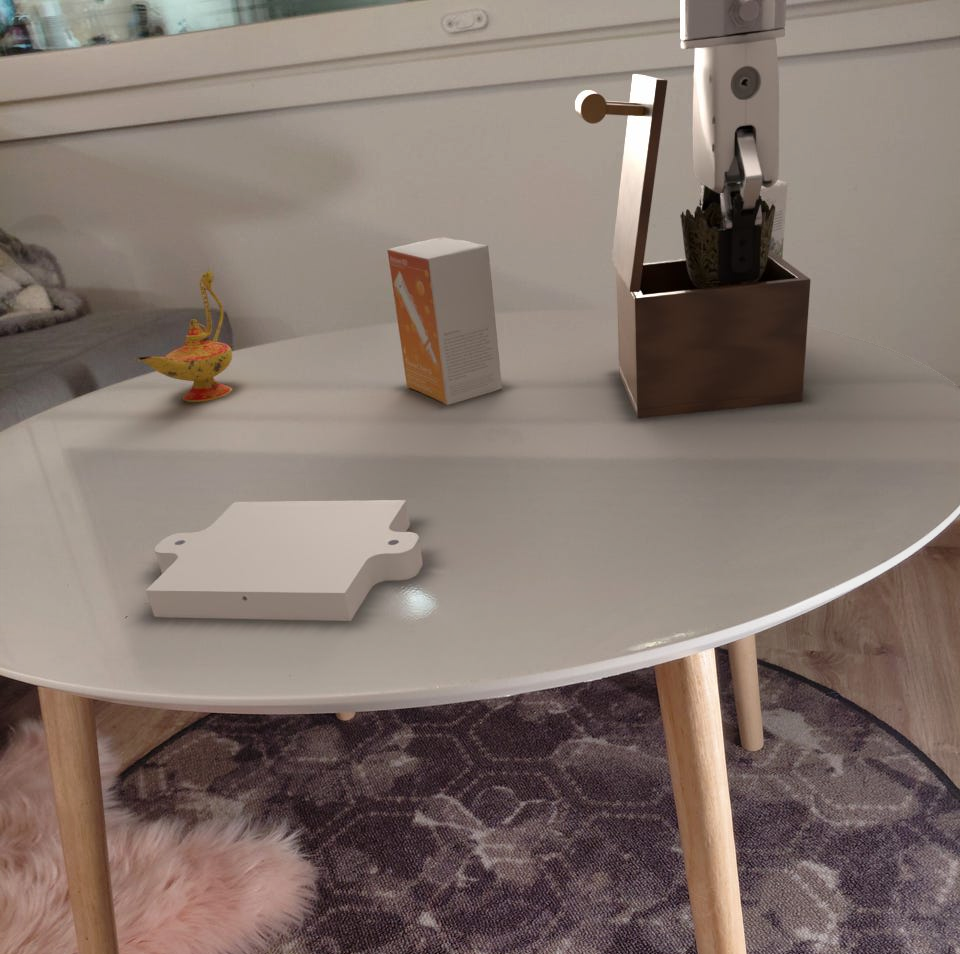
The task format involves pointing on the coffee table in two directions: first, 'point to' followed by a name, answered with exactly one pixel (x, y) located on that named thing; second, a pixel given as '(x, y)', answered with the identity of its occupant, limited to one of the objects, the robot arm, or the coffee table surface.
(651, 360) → the compartment
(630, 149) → the lid
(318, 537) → the mounting plate
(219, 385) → the magic lamp
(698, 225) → the cup
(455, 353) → the small box
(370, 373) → the coffee table surface
